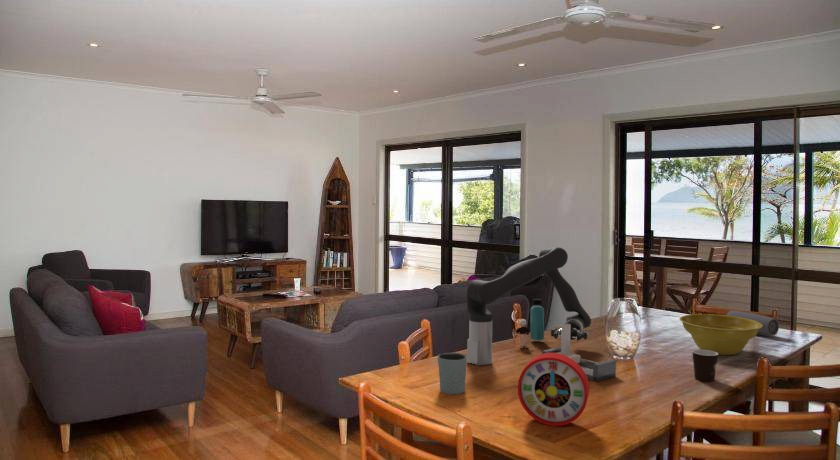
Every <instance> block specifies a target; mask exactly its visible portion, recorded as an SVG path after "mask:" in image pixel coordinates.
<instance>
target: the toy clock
mask: <svg viewBox="0 0 840 460" xmlns="http://www.w3.org/2000/svg"><path fill="white" fill-rule="evenodd" d="M589 383H590V382H589V379H587V376H586V374H585V372H584V370H583V369H582V367H581V366H580V365H579V364H578V363H577V362H576V361H574V360H573V359H571V358H570V357H568V356H566V355H563V354H559V353H545V354H542V353H541V354H539V355H536V356H535V357H533V358H532V359H531V360H530V361H528V362H527V364H526V366H525V367H524V368H523V369H522V372H521V374H520V375H519V376H518V382H517V396H518V399H519V401H520V404H521V406H522V408H523V409H524V410H525V412H526V413H527V415H529V416H530V417H531V418H532V419H534V420H535V421H537V422H539V423H541V424H544V425H545V426H546V425H547V426H551V427H559V426H561V427H562V426H565V425H568V424H570V423H572V422H575V420H577V419H578V418H579V417H580V416H581V415H582V413H583V412H584V411H585V409H586V405H587V402H588V400H589V396H590V384H589Z"/></svg>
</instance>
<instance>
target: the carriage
mask: <svg viewBox="0 0 840 460" xmlns="http://www.w3.org/2000/svg"><path fill="white" fill-rule="evenodd" d="M560 325H561V328H560V329H561V337H560V347H561V352H558V353H559V354H563V355H566V356H568V357H570V358H571V359H573V360H574V361H576V362H577V363H580V358H581V355H580V354H577V353H574V352H571V340H570V332H571V325H570V324H565V323H561V324H560Z"/></svg>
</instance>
